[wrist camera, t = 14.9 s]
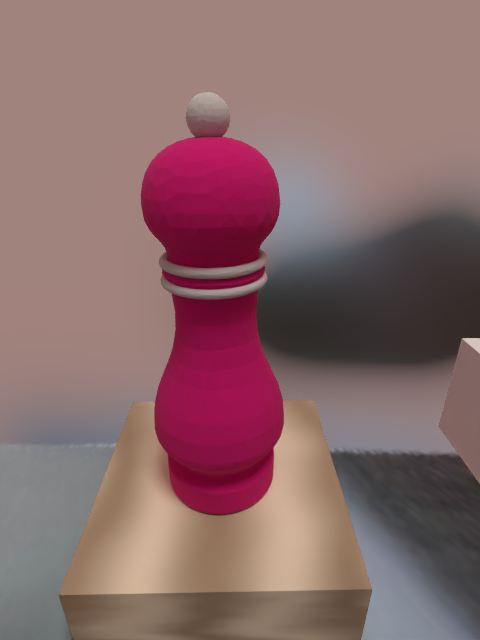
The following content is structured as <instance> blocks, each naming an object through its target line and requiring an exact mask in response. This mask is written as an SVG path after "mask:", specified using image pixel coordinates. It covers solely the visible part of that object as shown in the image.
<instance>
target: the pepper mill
mask: <svg viewBox="0 0 480 640" xmlns="http://www.w3.org/2000/svg"><path fill="white" fill-rule="evenodd" d="M186 122H187V125H188V127H189V129H190V131H191V133H192V134H193V135H194V136H195V137H194V138H188V139H185V140H181V141H178V142H176V143H174V144H172V145H169V146H167V147H166V148H165V149H164V150H162V151H161V152H160V153H159V154H157V156H156V157H155V158H154V159H153V160H152V161H151V163H150V165H149V167H148V168H147V170H146V172H145V175H144V179H143V183H142V190H141V206H142V211H143V216H144V220H145V222H146V224H147V226H148V228H149V230H150V231H151V232H152V234H153V235H154V236H155V237H156V238H157V239H158V240H159V241H160V242H161V243H162V245H163V246H164V247H165V249H166V252H165V253H164V254H163V255H162V256H161V257H160V259H159V265H160V267H161V268H162V274H163V275H162V277H161V284H162V286H163V287H164V289H166V290H167V291H169V292H170V293H172V297H173V302H174V308H175V319H176V321H175V322H176V331H175V338H174V344H173V349H172V352H171V355H170V358H169V361H168V363H167V366H166V368H165V371H164V373H163V376H162V378H161V381H160V384H159V387H158V391H157V396H156V400H155V407H154V418H155V431H156V435H157V438H158V441H159V443H160V444H161V446H162V447H163V449H164V450H165V451H166V452H167V453H168V466H169V475H170V482H171V486H172V488H173V490H174V492H175V494H176V495H177V496H178V497H179V498H180V500H181V501H183V502H184V503H185V504H186V505H188V506H189V507H191V508H194V509H196V510H198V511H201V512H204V513H211V514H227V513H233V512H237V511H240V510H244V509H246V508H247V507H249V506H251V505H253V504H254V503H256V502H257V501H259V500H260V499H261V498H262V497H263V496H264V494H265V493H266V492H267V490H268V489H269V487H270V485H271V482H272V479H273V470H274V446H275V445H276V444H277V442H278V440H279V439H280V437H281V433H282V430H283V426H284V408H283V399H282V395H281V392H280V389H279V385H278V382H277V380H276V378H275V376H274V374H273V372H272V370H271V367H270V365H269V363H268V361H267V359H266V357H265V355H264V352H263V350H262V347H261V344H260V340H259V335H258V331H257V316H256V307H257V295H258V290H259V289H260V288H261V287H263V286H264V285H265V283H266V281H267V275H266V272H265V267H264V266H265V265H266V263H267V255H266V254H265V252H264V251H262V250H260V249H259V248H260V245H261V244H262V242H263V241H264V239H266V237H267V236H268V235H269V234H270V233H271V231H272V230H273V228H274V226H275V224H276V221H277V219H278V216H279V208H280V196H279V187H278V183H277V179H276V176H275V173H274V170H273V168H272V167H271V165H270V164H269V162H268V161H267V159H266V158H265V157H264V156H263V155H262V154H261V153H260V152H259V151H258V150H256V149H255V148H253V147H251V146H249V145H248V144H246V143H244V142H242V141H238V140H235V139H232V138H226V137H222V136H223V135H224V134H225V133H226V131H227V129H228V127H229V123H230V114H229V109H228V107H227V105H226V103H225V102H224V101H223V100H222V99H221V97H219V96H218V95H216V94H214V93H211V92H204V93H200V94H198V95H196V96H195V97H194V98H193V99H192V100H191V101H190V103H189V105H188V107H187V112H186Z"/></svg>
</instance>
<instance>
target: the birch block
mask: <svg viewBox="0 0 480 640" xmlns="http://www.w3.org/2000/svg"><path fill="white" fill-rule="evenodd" d="M154 407H155V402H133V403H132V406H131V409H130V411H129V414H128V416H127V419H126V422H125V424H124V427H123V429H122V432H121V435H120V437H119V440H118V442H117V445H116V448H115V450H114V453H113V455H112V458H111V460H110V463H109V466H108V468H107V471H106V473H105V476H104V479H103V481H102V484H101V486H100V489H99V492H98V494H97V497H96V499H95V502H94V505H93V507H92V510H91V512H90V515H89V517H88V520H87V523H86V525H85V528H84V530H83V533H82V536H81V538H80V541H79V543H78V546H77V549H76V551H75V554H74V556H73V559H72V562H71V564H70V567H69V569H68V572H67V574H66V577H65V580H64V582H63V585H62V587H61V590H60V593H59V598H60V601H61V604H62V607H63V610H64V613H65V616H66V619H67V622H68V625H69V628H70V632H71V635H72V638H73V640H361V637H362V633H363V628H364V624H365V619H366V615H367V611H368V606H369V602H370V597H371V593H372V586H371V583H370V580H369V577H368V574H367V570H366V567H365V564H364V561H363V558H362V554H361V551H360V548H359V545H358V541H357V538H356V535H355V532H354V529H353V525H352V522H351V519H350V516H349V513H348V509H347V506H346V503H345V500H344V496H343V493H342V490H341V487H340V484H339V480H338V477H337V474H336V471H335V468H334V464H333V461H332V458H331V455H330V451H329V448H328V445H327V442H326V439H325V435H324V432H323V429H322V426H321V423H320V419H319V416H318V413H317V410H316V406H315V403H314V400H283V408H284V426H283V430H282V433H281V437H280V439H279V440H278V442H277V444H276V445H275V446H274V470H273V479H272V482H271V485H270V487H269V489H268V490H267V492H266V493H265V494H264V496H263V497H262V498H261V499H260V500H259V501H257V502H256V503H254V504H253V505H251V506H249V507H247V508H246V509H244V510H240V511H237V512H233V513H227V514H211V513H204V512H201V511H198V510H196V509H194V508H191V507H189V506H188V505H186V504H185V503H184V502H183V501H181V500H180V498H179V497H178V496H177V495H176V494H175V492H174V490H173V488H172V486H171V482H170V475H169V466H168V453H167V452H166V451H165V450H164V449H163V447H162V446H161V444H160V443H159V441H158V438H157V435H156V431H155V418H154Z"/></svg>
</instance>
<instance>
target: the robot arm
mask: <svg viewBox="0 0 480 640" xmlns="http://www.w3.org/2000/svg"><path fill="white" fill-rule="evenodd" d="M439 427H440V429H441V430H442V432H443V433H444V434H445V436H446V437H447V439H448V440H449V441H450V443H451V444H452V446H453V447H454V448H455V450H456V451H457V453H458V454H459V455H460V457H461V458H462V460H463V461H464V462H465V464H466V465H467V467H468V468H469V469H470V471H471V472H472V474H473V475H474V476H475V478H476V479H477V481H478V482H479V483H480V338H467V339H466V338H462V341H461V344H460V348H459V352H458V356H457V359H456V363H455V367H454V371H453V374H452V378H451V382H450V386H449V389H448V393H447V397H446V400H445V404H444V408H443V412H442V416H441V419H440V423H439Z"/></svg>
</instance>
